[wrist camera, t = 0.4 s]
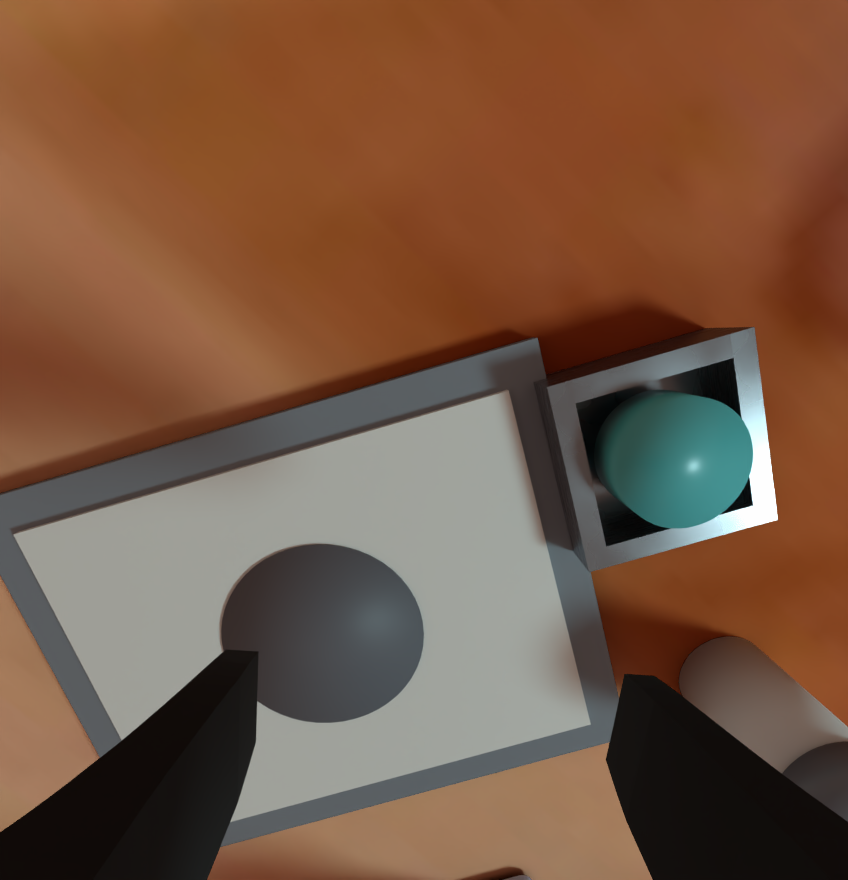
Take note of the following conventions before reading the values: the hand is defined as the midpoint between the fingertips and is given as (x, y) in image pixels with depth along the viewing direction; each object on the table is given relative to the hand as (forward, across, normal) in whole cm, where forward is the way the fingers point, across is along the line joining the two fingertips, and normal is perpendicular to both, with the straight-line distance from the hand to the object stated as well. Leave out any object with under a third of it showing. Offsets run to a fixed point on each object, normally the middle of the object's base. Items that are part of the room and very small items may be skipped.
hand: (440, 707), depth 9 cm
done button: (+8, -8, -4) cm, 12 cm away
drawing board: (+10, +4, +5) cm, 12 cm away
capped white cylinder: (+10, -14, +6) cm, 19 cm away
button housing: (+10, -8, -4) cm, 13 cm away
